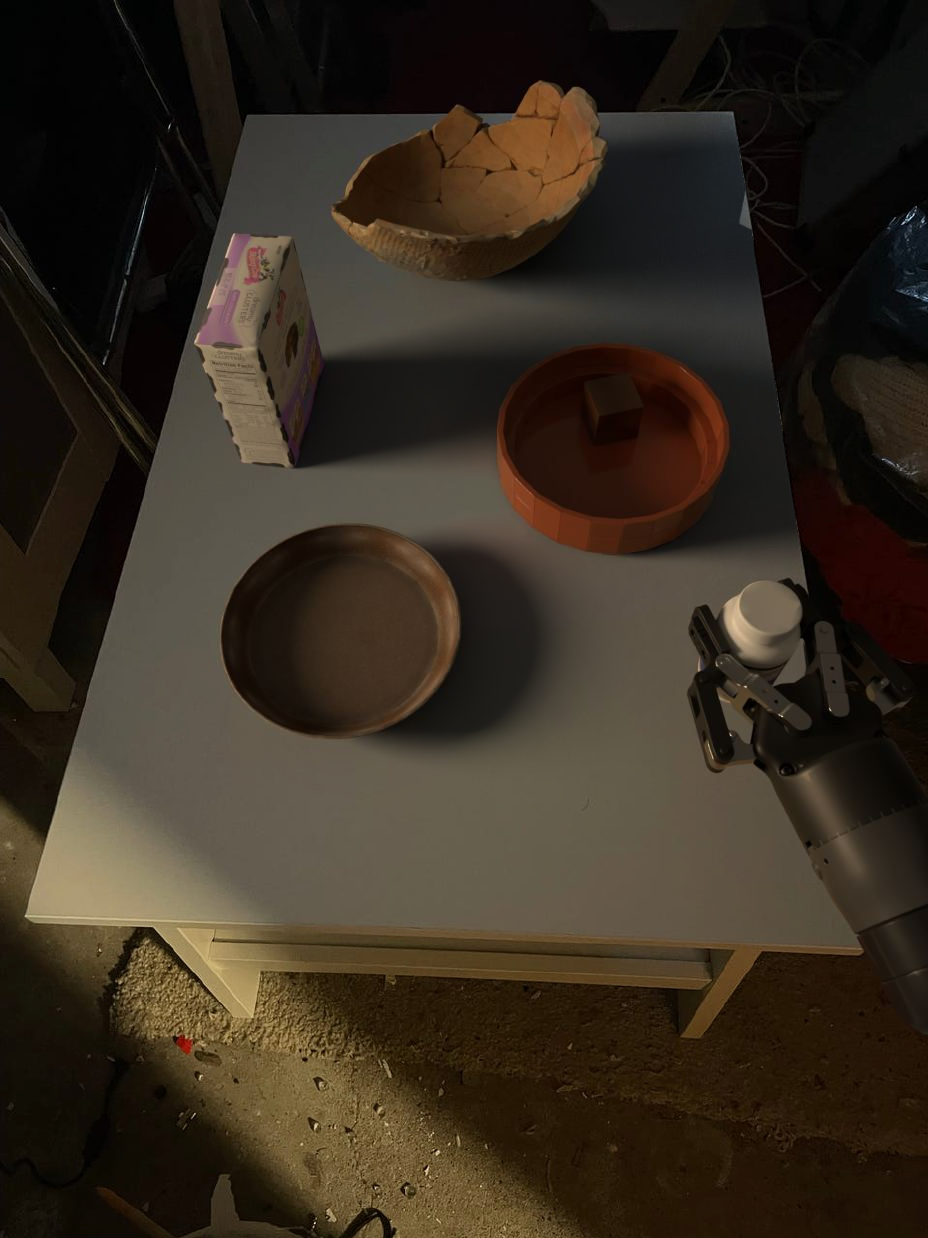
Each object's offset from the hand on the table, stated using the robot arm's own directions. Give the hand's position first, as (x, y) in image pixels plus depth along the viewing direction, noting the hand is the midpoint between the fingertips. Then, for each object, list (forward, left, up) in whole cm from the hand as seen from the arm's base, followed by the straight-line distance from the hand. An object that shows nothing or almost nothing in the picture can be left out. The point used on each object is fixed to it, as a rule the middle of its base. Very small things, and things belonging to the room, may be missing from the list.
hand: (739, 599), depth 60 cm
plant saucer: (+30, -3, -18) cm, 35 cm away
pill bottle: (-1, +2, -7) cm, 7 cm away
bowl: (+8, -24, -18) cm, 31 cm away
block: (+8, -29, -17) cm, 34 cm away
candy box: (+41, -28, -18) cm, 53 cm away
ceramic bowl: (+25, -55, -18) cm, 63 cm away
